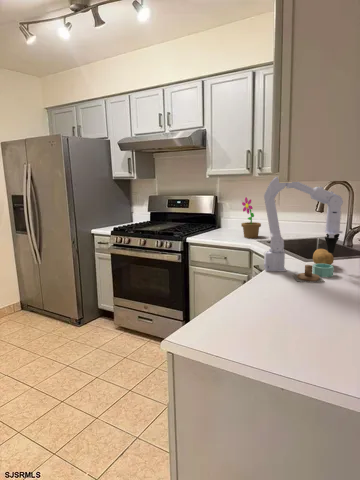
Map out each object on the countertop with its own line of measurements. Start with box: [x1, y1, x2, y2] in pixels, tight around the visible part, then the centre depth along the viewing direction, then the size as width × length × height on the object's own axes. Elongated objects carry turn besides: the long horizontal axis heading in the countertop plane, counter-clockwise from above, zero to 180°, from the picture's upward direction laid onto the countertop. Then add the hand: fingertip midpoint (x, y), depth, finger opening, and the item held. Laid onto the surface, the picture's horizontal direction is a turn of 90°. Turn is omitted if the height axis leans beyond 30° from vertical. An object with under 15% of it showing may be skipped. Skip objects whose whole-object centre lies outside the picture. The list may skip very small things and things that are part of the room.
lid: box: [296, 264, 320, 281], centre depth 140 cm, size 9×9×6 cm
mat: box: [292, 274, 325, 283], centre depth 140 cm, size 11×9×1 cm
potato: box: [312, 248, 335, 265], centre depth 158 cm, size 10×14×8 cm
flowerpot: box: [241, 196, 262, 239], centre depth 241 cm, size 14×14×30 cm
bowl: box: [312, 263, 335, 278], centre depth 146 cm, size 8×8×4 cm
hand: (331, 250), depth 148 cm, fingers open, 7 cm apart
